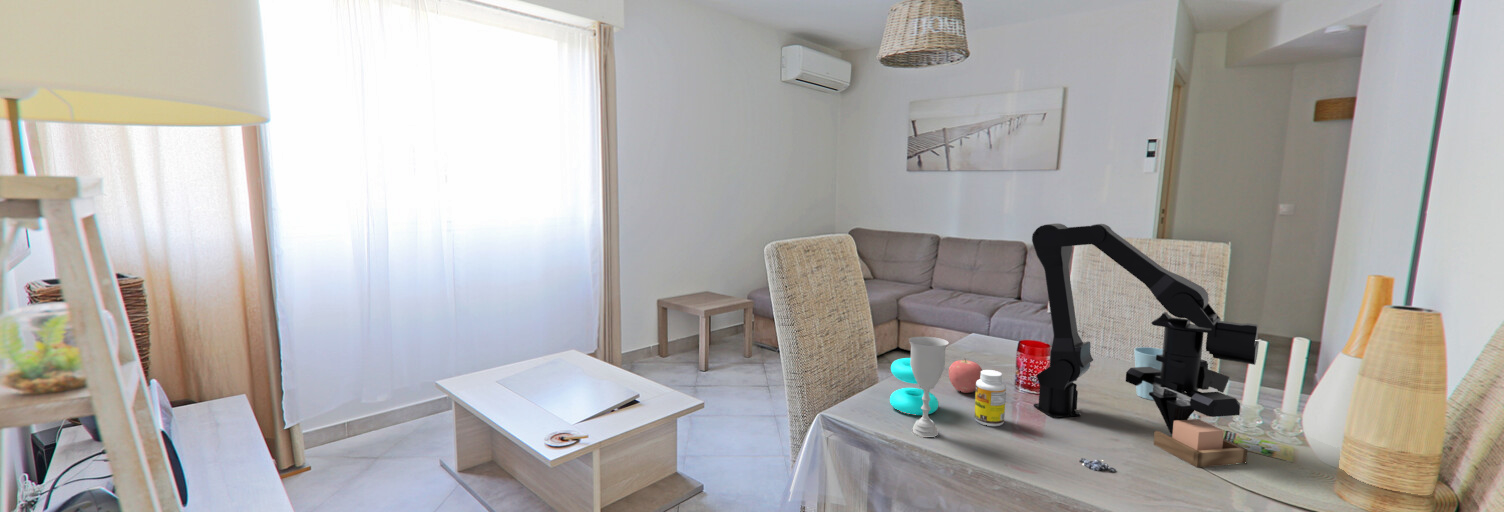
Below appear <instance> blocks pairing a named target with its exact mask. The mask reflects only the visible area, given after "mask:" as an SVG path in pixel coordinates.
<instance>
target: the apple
mask: <svg viewBox="0 0 1504 512" xmlns="http://www.w3.org/2000/svg"><path fill="white" fill-rule="evenodd" d="M963 358H964V359H959V360H955V361H954V362H952V364H950V366H949V368H948V377H949V382H950V384H951V385H952V386H953V387H954V389H956V390H957V391H958V392H960V391H961V392H960V393H965V394H969V393H973V392H976V382H977V380H979V379H980V376H981V371H982V370H983V369H982V367H981V365H979V364H978V363H977V362H975V361H972V360H967V359H966V358H965V357H963Z"/></svg>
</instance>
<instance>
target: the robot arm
mask: <svg viewBox="0 0 1504 512" xmlns="http://www.w3.org/2000/svg"><path fill="white" fill-rule="evenodd" d="M1031 242H1032V246H1033V248H1034V251H1035V254H1036V257H1037V259H1038V260H1039V262H1040V264H1041V265H1042V267H1043V269H1044V275H1045V282H1046V289H1047V296H1048V303H1049V310H1050V319H1051V324H1052V332H1053V339H1052V343H1051V348H1050V352H1049V354H1050V355H1049V366H1048V367H1047V368H1045V369H1044V370H1042V371H1041V372H1039V373H1038V374H1037V375H1036V378H1037V381H1038V384H1039V391H1038V392H1039V394H1038V395H1039V396H1038V403H1033V407H1034V408H1036V409H1037V410H1039V411H1040V412H1043V413H1044V414H1046V415H1047V416H1049V417H1052V418H1062V417H1063V418H1064V417H1065V418H1066V417H1079V416H1081V412H1079V411H1077V409H1078V408H1077V407H1078V395H1079V391H1078V390H1077V385H1078V384H1076V383H1075V382H1077V381H1078V379H1079V378H1080V377H1082V376H1083V375H1085V374H1086V373H1087V372H1088V371H1089V369H1090V367H1091V363H1092V362H1093V361H1094V358H1093V356H1092V354H1091V353H1092V352H1091V341H1084V342H1083V340H1082V338H1081V337H1080V335H1079V333H1078V325H1077V318H1076V313H1075V311H1076V310H1075V305H1074V297H1073V289H1072V282H1071V276H1070V269H1069V265H1070V260H1071V255H1072V251H1073V247H1074V246H1075V247H1076V246H1085V245H1092V246H1094V247H1096V248H1097V249H1098V250H1099V251H1101V252H1102V253H1103V254H1105V255H1106V256H1108V257H1109V258H1110V259H1111V260H1113V261H1114V262H1115V263H1116V264H1118V265H1119V266H1120V267H1122V268H1123V269H1125V270H1126V271H1128V272H1129V274H1131V275H1132V276H1134V277H1135V278H1136V279H1138V280H1139V281H1140V282H1141V283H1143V284H1144V285H1145V287H1147V288H1148V290H1149V291H1150V292H1151V293H1152V295H1153V297H1154V298H1155V299H1156V300H1157V302H1158V303H1160V305H1161V306H1163V308H1164V309H1165V310H1166V311H1167V312H1166V311H1164V312H1163V313H1161V315H1160V316H1159V317H1158V318H1157V317H1156V318H1155V319H1154V320H1153V321H1151V324H1152V326H1154V327H1155V326H1156V327H1162V328H1164V331H1163V332H1164V333H1163V341H1162V342H1163V343H1162V349H1163V352H1162V355H1156V360H1157V361H1160V362H1162V364H1161V371H1160V370H1158V369H1155V368H1152V367H1130V368H1129V369H1128V370H1127V371H1126V372H1125V382H1126V383H1128V384H1131V385H1133V386H1135V387H1136V386H1139V385H1140V384H1141V383H1142V381H1145V382H1148V383H1150V384H1152V385H1153V392H1149V396H1151V397H1152V398H1153V400H1152V401H1154V402H1155V405H1156V408H1157V409H1158V410H1159V412H1160V414H1161V417H1162V419H1163V420H1164V423H1165V424H1166V425H1165V426H1166V427H1167V429H1168V431H1169V433H1170V434H1171V435H1172V434H1173V423H1174V421H1177V420H1189V418H1190V416H1191V415H1192V414H1193V413H1194V412H1196V413H1197V412H1198V413H1200V414H1202V415H1204V416H1206V417H1211V418H1218V417H1230V416H1231V417H1232V416H1240V414H1241V413H1240V411H1241V403H1240V401H1239V400H1238V399H1237V398H1236V397H1233V396H1230V395H1227V394H1224V391H1225V389H1226V388H1227V385H1228V382H1229V381H1230V377H1231V376H1229V375H1225V374H1222V373H1220V372H1218V371H1214V370H1211V369H1209V368H1208V367H1209V363H1208V361H1207V360H1204V359H1202V356H1203V355H1202V353H1203V346H1204V345H1203V343H1204V333H1206V340H1205V342H1206V343H1205V352H1208V354H1209V355H1212V357H1213V359H1219V360H1224V361H1229V362H1236V363H1242V364H1249V365H1253V366H1254V365H1256V363H1257V359H1258V353H1259V345H1260V341H1255V340H1258V336H1259V330H1258V329H1259V325H1258V324H1257V323H1240V322H1232V321H1231V322H1230V321H1223V320H1221V317H1220V316H1219V315H1218V313H1216V311H1215V309H1214V308H1213V307H1212V306H1211V305H1210V303H1209V302H1210V300H1209V293H1208V292H1207V290H1206V289H1205V288H1204V287H1202V286H1201V285H1199V284H1197V283H1196V282H1194V281H1192V280H1189V279H1187V278H1186V277H1184V276H1182V275H1179V274H1177V273H1174V272H1172V271H1170V270H1167V269H1166V268H1164V267H1163V266H1161V265H1160V264H1158V263H1157V262H1155V261H1154V260H1153V259H1152V258H1150V257H1149V256H1148V255H1146V254H1145V253H1144V252H1142V251H1141V250H1139V249H1138V248H1136V246H1134V245H1133V244H1132V243H1130V242H1129V241H1128V240H1126V239H1125V238H1123V237H1122V236H1120V235H1119V234H1118V233H1117V232H1115V231H1114V230H1113V229H1112V228H1111V227H1110V226H1109V225H1108V224H1105V223H1097V224H1092V225H1083V226H1081V225H1080V226H1069V227H1068V226H1067V225H1066V224H1063V223H1049V224H1044V225H1043V224H1042V225H1040V226H1038V227H1037V228H1036V229H1035V230H1034V232H1032V236H1031ZM1172 316H1173V317H1172ZM1209 388H1212V389H1214V390H1216V391H1209V392H1208V391H1207V390H1209ZM1199 390H1202V391H1203V392H1202V391H1199ZM1204 390H1205V392H1204ZM1206 391H1207V392H1206Z"/></svg>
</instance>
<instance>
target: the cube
mask: <svg viewBox="0 0 1504 512" xmlns="http://www.w3.org/2000/svg"><path fill="white" fill-rule="evenodd" d="M1171 435H1172V436H1171V438H1173V439H1175V440H1177V441H1179V442H1182V443H1184V444H1186V445H1188V446H1190V447H1192V448H1194V449H1196V450H1198V451H1201V450H1215V449H1222V447H1223V439H1224V435H1225V430H1223V429H1222V428H1220V427H1218V426H1215V425H1212V424H1211V423H1208V422H1205V420H1204V421H1203V420H1201V419H1200V418H1195V419H1194V418H1193V419H1188V420H1177V421H1174V423H1173V434H1171Z"/></svg>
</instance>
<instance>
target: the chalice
mask: <svg viewBox="0 0 1504 512" xmlns="http://www.w3.org/2000/svg"><path fill="white" fill-rule="evenodd" d="M908 342H909V344H910V358H911V361H910V365H911V368H912V371H913V374H914V377H915V379H916V381H917V383H918V384H917V385H918V387H919V388H920V389H923V390H924V394H923V397H922V400H923V406H922V407H921V409H922V410H923V415H921V416H922V417H920V418H918V419H917V420H915V422H914V425H913V427H912V429H913V432H914V433H916V434H918V435H920V436H935V435H937V434H938V433H939V431H938V428H937V427H936V423H935V421H933V420H932V419H931V418H930V417H929V414H928V413H929V410H930V409H931V408H930V407H929V401H930V400H931V399H930V397H929V392H930V390H932V389H935V387H936V386H937V384H938V382H939V381H940V379H941V377H942V375H943V373H944V370H945V366H946V349H947V346H948V345H949V341H948V340H946V339H943V338H939V337H934V336H913V337H909V338H908Z"/></svg>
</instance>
